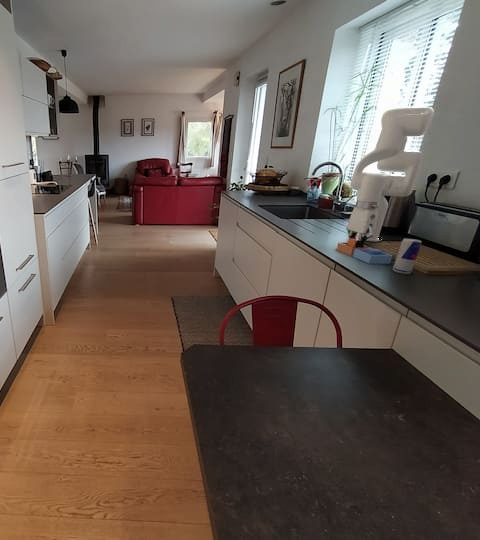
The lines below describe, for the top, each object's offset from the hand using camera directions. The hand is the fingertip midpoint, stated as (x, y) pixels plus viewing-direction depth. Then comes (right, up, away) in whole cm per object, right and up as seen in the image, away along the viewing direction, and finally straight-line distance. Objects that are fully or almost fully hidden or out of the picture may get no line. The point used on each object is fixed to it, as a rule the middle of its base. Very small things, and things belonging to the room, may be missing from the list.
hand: (354, 247), depth 141 cm
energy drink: (+2, -11, -21) cm, 24 cm away
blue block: (0, -5, -9) cm, 10 cm away
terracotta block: (0, 0, 0) cm, 0 cm away
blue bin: (0, -6, -9) cm, 10 cm away
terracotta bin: (0, -2, +1) cm, 2 cm away
